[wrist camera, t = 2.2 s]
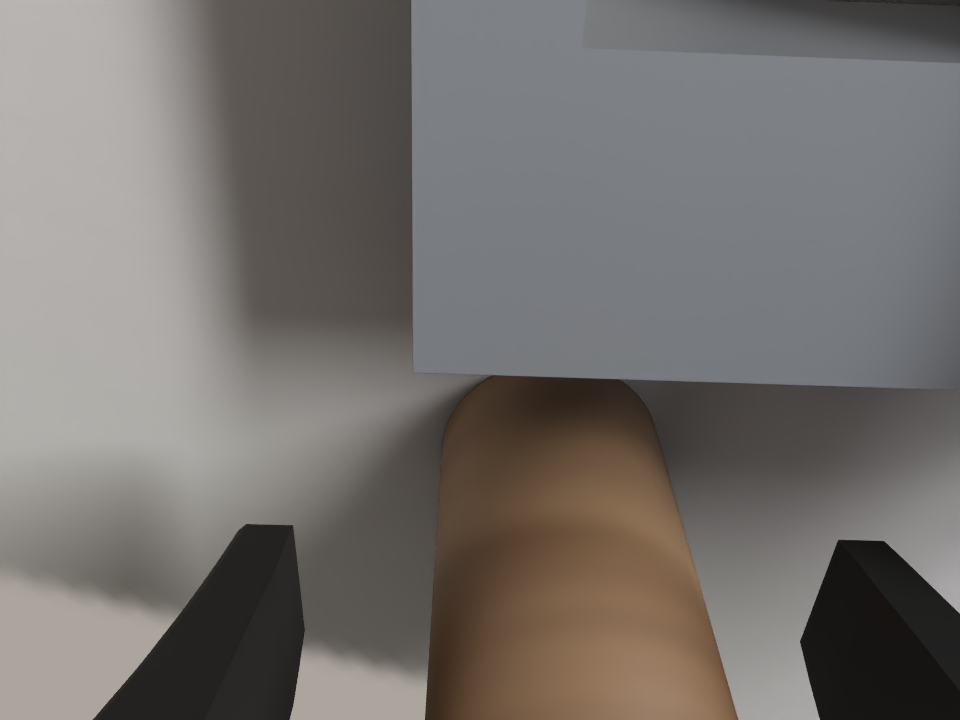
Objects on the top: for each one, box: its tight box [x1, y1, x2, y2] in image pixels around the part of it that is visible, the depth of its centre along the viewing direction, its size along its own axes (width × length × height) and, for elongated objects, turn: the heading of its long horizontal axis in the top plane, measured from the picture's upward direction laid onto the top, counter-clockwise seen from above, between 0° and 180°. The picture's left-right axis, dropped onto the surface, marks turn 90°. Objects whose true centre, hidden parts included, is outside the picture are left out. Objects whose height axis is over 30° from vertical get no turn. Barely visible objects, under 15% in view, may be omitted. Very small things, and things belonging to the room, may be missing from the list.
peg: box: [425, 375, 738, 720], centre depth 11 cm, size 4×4×7 cm
